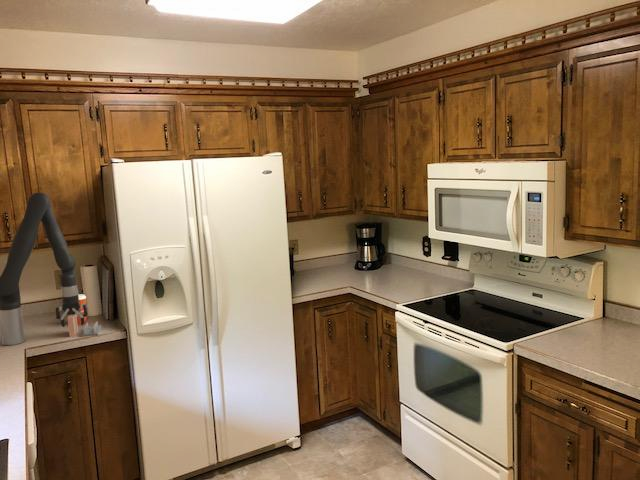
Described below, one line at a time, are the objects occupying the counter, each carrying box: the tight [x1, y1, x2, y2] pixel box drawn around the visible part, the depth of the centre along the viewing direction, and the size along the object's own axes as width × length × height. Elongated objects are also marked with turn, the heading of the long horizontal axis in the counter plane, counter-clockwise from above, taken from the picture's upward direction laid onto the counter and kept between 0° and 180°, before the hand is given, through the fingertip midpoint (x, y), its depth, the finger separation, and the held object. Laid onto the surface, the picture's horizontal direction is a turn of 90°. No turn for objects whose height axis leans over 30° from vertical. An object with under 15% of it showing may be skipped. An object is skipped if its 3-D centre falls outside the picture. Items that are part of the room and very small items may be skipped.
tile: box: [67, 314, 79, 338], centre depth 267 cm, size 9×2×10 cm, turn 15°
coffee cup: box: [76, 293, 87, 325], centre depth 285 cm, size 8×8×15 cm
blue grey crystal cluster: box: [79, 321, 102, 338], centre depth 269 cm, size 8×13×4 cm, turn 15°
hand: (73, 325), depth 267 cm, fingers open, 8 cm apart
